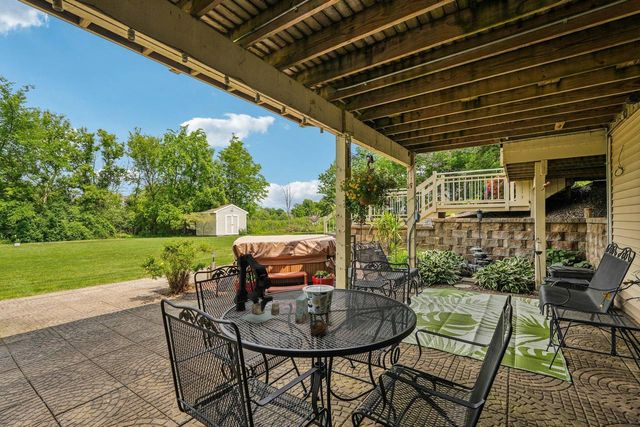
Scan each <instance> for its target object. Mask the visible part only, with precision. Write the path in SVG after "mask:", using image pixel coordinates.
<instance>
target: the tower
mask: <svg viewBox="0 0 640 427" xmlns="http://www.w3.org/2000/svg"><path fill="white" fill-rule="evenodd" d="M270 311H271V315H274V316H276V315H279V314H280V302H272V303H271V309H270ZM279 316H280V315H279ZM276 317H277V316H276Z"/></svg>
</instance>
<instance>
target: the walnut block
mask: <svg viewBox="0 0 640 427" xmlns="http://www.w3.org/2000/svg"><path fill="white" fill-rule="evenodd" d="M251 309H252V310H251V313H252V314H255V315H261V314H264V313H265V312H263V313H260V314H258V313H254V304H252V305H251Z"/></svg>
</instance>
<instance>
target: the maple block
mask: <svg viewBox="0 0 640 427" xmlns="http://www.w3.org/2000/svg"><path fill="white" fill-rule="evenodd" d="M253 305H254V313H258V314H260V313H263V312H265V310H266V307H265V308H264V310H263V312H261V303H260V302H259V303H257V304H253Z"/></svg>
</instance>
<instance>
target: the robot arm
mask: <svg viewBox="0 0 640 427" xmlns="http://www.w3.org/2000/svg"><path fill="white" fill-rule="evenodd" d="M236 264H237V266H238V268H239V273H238V274H239V276H238V289H237V290H236V293H235V296H234V298H233V304H235V310H236V312H245V311H246V303H248V301H251V302H252V305H254V304H257V303H261V312H263V310H264V308H265V309H266V307H267V304H268V303H270V302H273V301H274V297H273V295H272V296H271V295H266V293H265V290H269V289H270V288H271V287H272V281H271V280H270V279H269V277H270V276H269V272H268V270H267V268H266V267H265V266H264V265H263V264H261V263H259V262H258V261H257V259H256V258H255V257H254V256H253V253H245V254H243V255H239V256H238V257H237V258H236ZM249 266H250V267H251V268H252V273H253V275H254V277H253V278H254V280H255V281H254V288H253V290H252V291H251V292H249V291H248V290H247V269H248V267H249Z"/></svg>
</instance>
